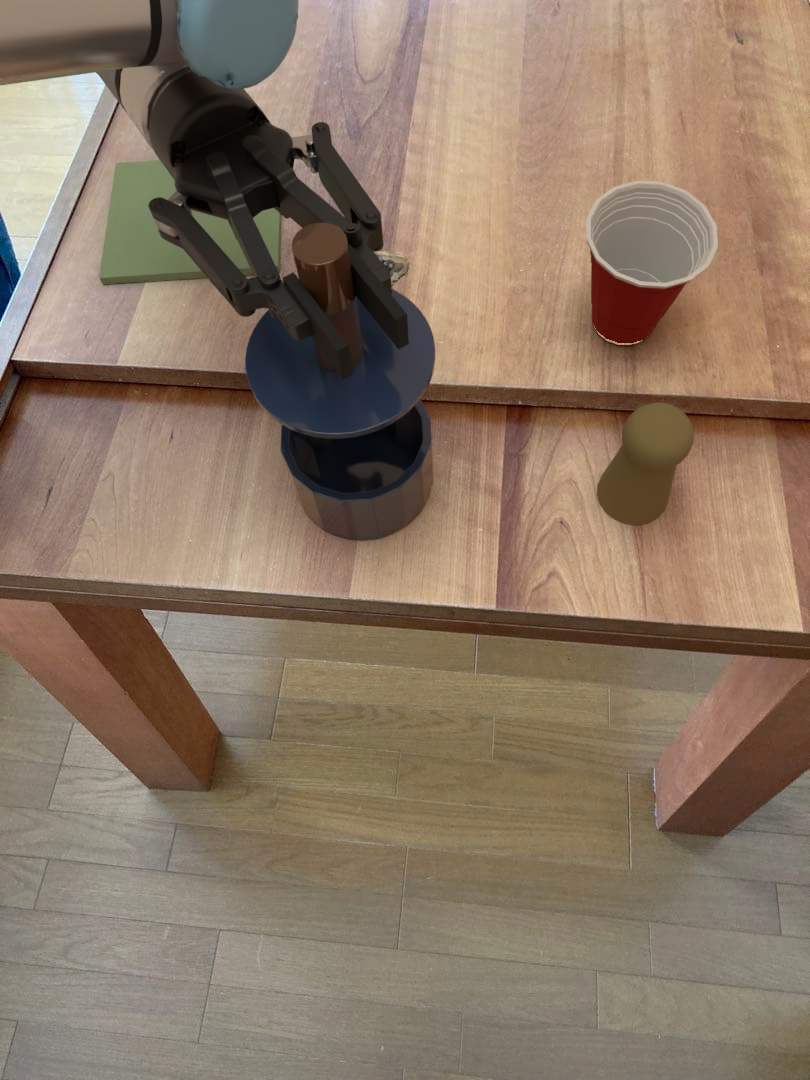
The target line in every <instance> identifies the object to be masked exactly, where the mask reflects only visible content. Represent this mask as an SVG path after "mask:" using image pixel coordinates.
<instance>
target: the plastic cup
mask: <svg viewBox="0 0 810 1080" xmlns="http://www.w3.org/2000/svg"><path fill="white" fill-rule="evenodd" d="M713 218H714V217H713V216H712V214H711V213H710V211H709V209H708V207H707V206H706V204H704V203H702V201H700V200H699V199H698V198H697V197H695V196H694V195H693V194H691V193H690V192H689V191H688V190H686V189H683V188H680V187H678V186H675V185H672V184H670V183H667V182H664V181H655V180H634V181H631V182H626V183H623V184H619V185H616V186H613V187H611V188H610V189H609V190H608V191H606V192H605V193H603V194H602V195H601V196H599V197H598V198H597V199H596V200H595V201H594V204H593V205H592V206H591V209H590V211H589V212H588V214H587V216H586V229H585V230H586V235H585V236H586V244H587V246H588V248H589V254H590V264H591V270H590V271H591V272H590V273H591V275H590V304H591V322H592V325H593V324H594V326H595V328H596V330H597V331H598V332H599V333H600V334H601V335H603V336H604V337H605V338H606V339H609V340H612V341H615V342H617V343H634V342H637V341H641V340H643V341H644V340H646V339H647V338H648V337H650V335H651V334H652V333H654V330H656V328H657V326H658V324H659V322H661V319H663V318H664V317H665V315H666V314H667V312H669V309H670V308H671V307H672V305H673V304H674V302H675V300H676V299H677V298H678V297H679V295H680V293H681V292H682V290H683V289H684V287H685V285H687V284H689V282H691V280H693V279H695V278H696V277H697V276H699V274H701V273H702V272H703V271H704V270H706V269H707V268H708V267H709V266H710V264H711V262H712V260H713V258H714V256H715V254H716V252H717V250H718V248H719V240H718V239H719V238H718V225H717V223H716V221H715V220H714V219H713ZM596 330H595V331H596ZM647 336H648V337H647ZM646 337H647V338H646ZM645 338H646V339H645Z"/></svg>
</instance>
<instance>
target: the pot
mask: <svg viewBox="0 0 810 1080" xmlns="http://www.w3.org/2000/svg"><path fill="white" fill-rule="evenodd" d="M280 454H281V456H282V459H283V461H284V465H285V467H286V470H287V472H288V475H289V478H290V480H291V484H292V486H293V489H294V492H295V495H296V497H297V498H298V501H299V503H300V505H301V508H302V509H303V512H304V514H305V515H306V516H307V517H308V518H309V519H310V520H311V521H312V522H313V523H314V524H315V525H316V526H317V527H319V528H320V529H321V530H323V531H325V532H327V533H329V534H331V535H333V536H335V537H338V538H342V539H346V540H351V541H371V540H378V539H381V538H385V537H388V536H390V535H394V534H395V533H397V532H399V531H401V530H403V529H404V528H405V527H407V526H409V525H410V523H412V522H413V521H414V520H415V519H416V518H417V517H418V516H419V514H420V513H421V512H422V510H423V509H424V508H425V506H426V504H427V503H428V500H429V498H430V495H431V493H432V492H431V491H432V488H433V485H434V472H433V471H434V467H433V440H432V423H431V416H430V414H429V412H428V410H427V408H426V407H425V405H424V403H423V402H422V399H420V400H419V401H418V402H417V403H416V404H415V405H414V407H413V408H412V409H411V410H410V411H408V412H407V413H406V414H405V415H404V416H402V417H401V418H400V419H398V420H397V421H395V422H394V423H392V424H390V425H388V426H386V427H384V428H382V429H380V430H378V431H375V432H372V433H369V434H366V435H362V436H357V437H351V438H343V439H328V438H319V437H313V436H309V435H304V434H302V433H299V432H296V431H293V430H291V429H289V428H287V427H285V426H283V425H282V424H281V426H280Z"/></svg>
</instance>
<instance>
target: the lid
mask: <svg viewBox="0 0 810 1080" xmlns="http://www.w3.org/2000/svg"><path fill="white" fill-rule="evenodd" d="M291 252H292V255H293V256H292V257H293V260H294V264H295V270H296V274H297V278H298V279H299V280H300V282H301V283H302V285H303V286H304V287H305V288H306V289H307V291H308V292H309V293H310V295H311V296H312V297H313V299H314V300H315V301H316V303H317V304H318V305H319V307H320V308H321V309H322V310H323V312H324V313H325V314H326V316H327V317H328V318H329V320H330V321H331V322H332V324H333V325H334V326H335V328H336V329H337V330H338V332H339V333H340V334H341V335H342V337H343V338H344V339H345V341H346V342H347V343H348V345H349V349H350V355H351V361H352V367H353V373H354V374H353V375H351V376H349V377H347V378H345V379H342V378H341V377H340V375H339V374H338V372H337V371H336V370H335V368H334V367H333V366H332V364H331V363H330V362H329V360H328V359H327V358H326V356H325V355H324V353H323V352H322V351H321V349H320V348H319V347H318V345H317V344H316V343H315V341H314V340H313V339H312V337H311V336H310V337H308V338H306V339H304V340H302V341H300V342H299V341H297V340H295V339H294V338H292V336H291V335H290V334H289V332H288V331H287V330H286V328H285V326H284V325H283V324H282V323H281V321H280V320H279V319H275V318H273V317H271V315H270V313H269V309H267V310H266V311H265V312H264V313H263V314H262V316H261V317H260V319H259V320H258V321H257V323H256V324H255V326H254V327H253V330H252V332H251V334H250V336H249V338H248V341H247V345H246V349H245V358H244V368H245V369H244V370H245V374H246V379H247V382H248V385H249V389H250V391H251V393H252V395H253V396H254V398H255V400H256V402H257V404H258V405H259V406H260V407H261V408H262V410H263V411H264V412H265V413H266V414H267V415H268V416H270V417H271V418H272V419H273V420H274V421H275V422H277V423H278V424H281V425H283V426H285V427H287V428H289V429H291V430H293V431H296V432H299V433H302V434H304V435H309V436H313V437H319V438H328V439H343V438H351V437H357V436H362V435H366V434H369V433H372V432H375V431H378V430H380V429H382V428H384V427H386V426H388V425H390V424H392V423H394V422H395V421H397V420H398V419H400V418H401V417H402V416H404V415H405V414H406V413H407V412H408V411H410V410H411V409H412V408H413V407H414V405H415V404H416V403H417V402H418V401H419V400H421V398H422V397H423V395H424V394H425V393H426V391H427V389H428V387H429V385H430V384H431V380H432V378H433V374H434V372H435V365H436V344H435V337H434V333H433V330H432V328H431V326H430V324H429V321H428V320H427V317H426V316H425V315H424V314H423V312H422V311H421V310H420V308H419V307H417V305H416V304H415V303H414V302H413V301H412V300H410V299H409V298H408V297H407V296H405V295H404V294H402V293H400V292H399V291H397V290H396V289H394V288H392V294H391V295H392V296H393V298H394V299H395V300H396V301H397V302H398V304H399V305H400V306H401V307H402V309H403V310H404V311H405V312H406V314H407V321H408V337H409V344H408V345H406V346H404V347H402V348H401V349H399V350H398V348H397V347H396V346H395V345H394V343H393V342H392V341H391V340H390V338H389V337H388V336H387V335H386V333H385V332H384V331H383V330H382V328H381V327H380V326H379V324H378V323H377V322H376V321H375V319H374V318H373V317H372V316H371V314H370V313H369V312H368V311H367V309H366V308H365V307H364V306H363V304H362V303H361V302H360V300H359V299H358V298H357V297H356V295H355V290H354V283H353V276H352V269H351V262H350V255H349V248H348V242H347V237H346V235H345V233H344V232H343V231H342V230H341V229H340V228H339V227H337V226H335V225H333V224H329V223H314V224H311V225H308V226H306V227H304V228H302V227H301V229H299V230H298V231H297V233H295V235H294V236H293V238H292V241H291Z"/></svg>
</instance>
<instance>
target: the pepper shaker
mask: <svg viewBox="0 0 810 1080" xmlns="http://www.w3.org/2000/svg"><path fill="white" fill-rule="evenodd" d="M694 430H695V429H694V427H693V424H692V421H691V419H690V418H689V417H688V416H687V414H686V413H685V412H684V411H683V410H682V409H680V408H678V407H677V406H675V405H673V404H670V403H666V402H652V403H647V404H644V405H642V406H640V407H638V408H636V409H634V411H633V412H632V413H631V414H630V415H629V416H628V417H627V419H626V421H625V423H624V425H623V428H622V433H621V443H622V445H621V446H620V448H619V449H618V450H617V452H616V454H615V455H614V457H613V458H612V459H611V461H610V463H609V464H608V465H607V467H606V468H605V470H604V471H603V473H602V475H601V476H600V478H599V480H598V482H597V487H596V496H597V499H598V503H599V505H600V506H601V509H603V511H604V513H606V514H607V515H608V516H609V517H611V518H612V519H613V520H614V521H617V522H619V523H622V524H624V525H631V526H632V525H633V526H640V525H646V524H649V523H652V522H653V521H656V520H657V519H658V518H659V517H660V516H661V515H662V514H664V512H665V511H666V507H667V505H668V503H669V498H670V494H671V490H672V486H673V482H674V478H675V474H676V470H677V466H678V465H680V464H681V463H682V462H683V461H684V460H685V459H686V457H688V456H689V454H690V452H691V449H692V447H693V445H694V439H695V436H694V434H695V431H694Z"/></svg>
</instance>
